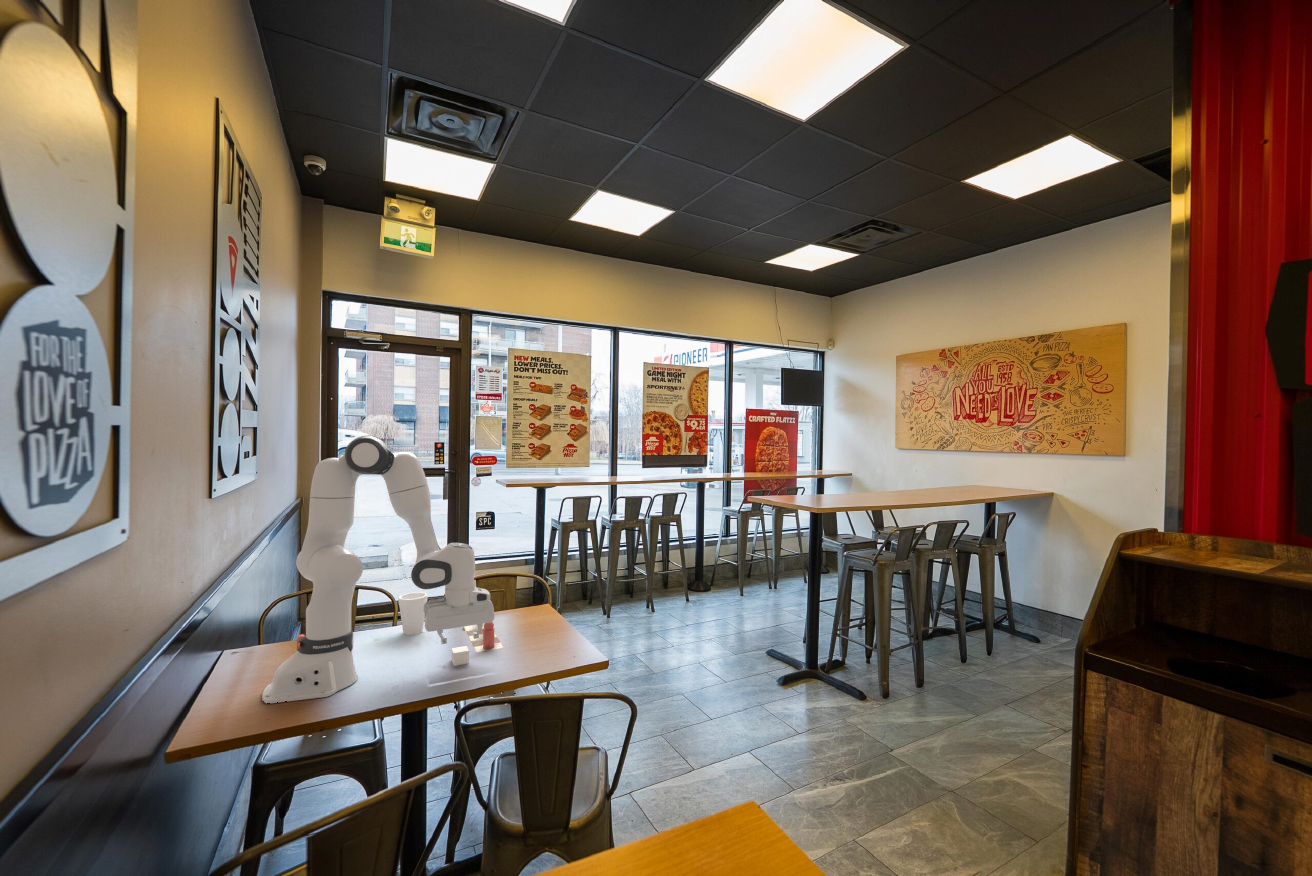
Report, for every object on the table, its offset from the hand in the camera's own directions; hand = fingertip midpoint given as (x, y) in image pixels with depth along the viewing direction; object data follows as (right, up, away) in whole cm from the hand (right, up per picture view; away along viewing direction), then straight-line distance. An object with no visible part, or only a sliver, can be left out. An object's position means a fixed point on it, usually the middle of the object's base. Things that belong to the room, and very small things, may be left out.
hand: (460, 640), depth 169 cm
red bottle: (+5, -6, +12) cm, 14 cm away
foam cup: (-27, -7, +28) cm, 39 cm away
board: (0, -7, +22) cm, 23 cm away
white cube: (0, -7, 0) cm, 7 cm away
